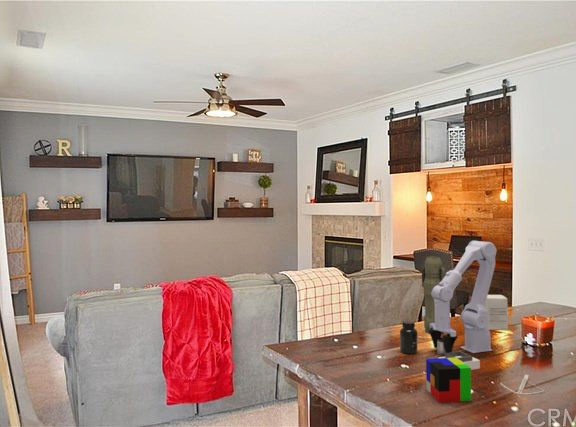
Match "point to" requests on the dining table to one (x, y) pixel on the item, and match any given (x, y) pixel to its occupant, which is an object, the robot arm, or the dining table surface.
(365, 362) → the dining table surface
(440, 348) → the lens
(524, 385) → the crossbow
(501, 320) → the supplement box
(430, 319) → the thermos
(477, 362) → the camera body
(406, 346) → the supplement bottle
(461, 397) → the puzzle toy
